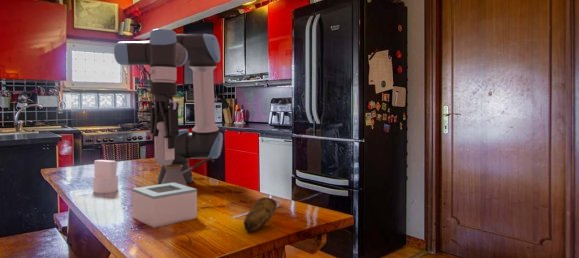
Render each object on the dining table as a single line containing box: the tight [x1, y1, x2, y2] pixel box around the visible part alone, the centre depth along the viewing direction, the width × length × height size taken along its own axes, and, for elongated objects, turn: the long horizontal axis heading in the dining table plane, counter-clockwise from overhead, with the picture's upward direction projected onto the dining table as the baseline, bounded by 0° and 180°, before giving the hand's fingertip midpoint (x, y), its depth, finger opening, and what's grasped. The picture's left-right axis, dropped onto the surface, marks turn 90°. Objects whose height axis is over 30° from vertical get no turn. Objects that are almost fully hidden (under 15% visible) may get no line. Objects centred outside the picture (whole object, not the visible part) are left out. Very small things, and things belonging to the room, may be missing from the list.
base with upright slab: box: [92, 159, 119, 194], centre depth 157 cm, size 9×9×12 cm
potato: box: [243, 197, 278, 233], centre depth 112 cm, size 8×13×8 cm, turn 136°
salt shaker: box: [154, 122, 173, 166], centre depth 120 cm, size 6×6×13 cm
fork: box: [231, 201, 284, 219], centre depth 128 cm, size 3×24×2 cm, turn 136°
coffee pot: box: [161, 157, 215, 186], centre depth 144 cm, size 21×12×15 cm, turn 127°
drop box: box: [131, 182, 198, 229], centre depth 121 cm, size 14×14×9 cm
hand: (164, 158), depth 120 cm, fingers closed on salt shaker, 6 cm apart
